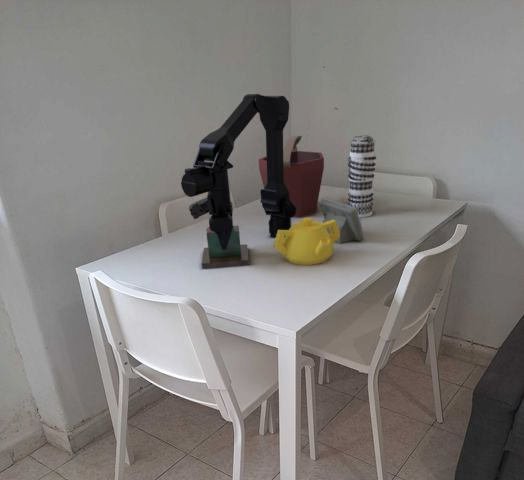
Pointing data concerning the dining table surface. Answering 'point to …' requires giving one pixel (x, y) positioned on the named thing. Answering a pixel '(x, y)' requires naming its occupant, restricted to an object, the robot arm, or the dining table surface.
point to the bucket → (299, 176)
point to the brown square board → (225, 259)
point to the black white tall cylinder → (361, 174)
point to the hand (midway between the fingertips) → (224, 244)
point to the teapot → (307, 241)
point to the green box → (216, 248)
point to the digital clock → (343, 220)
